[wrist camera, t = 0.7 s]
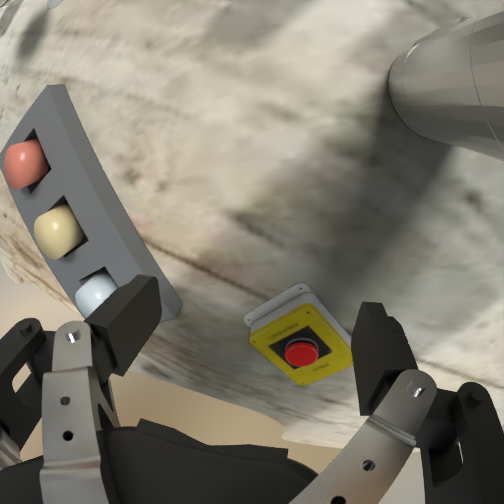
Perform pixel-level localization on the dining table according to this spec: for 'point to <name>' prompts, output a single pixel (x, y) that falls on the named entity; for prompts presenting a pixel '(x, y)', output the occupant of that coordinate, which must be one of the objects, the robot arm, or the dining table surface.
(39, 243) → the ochre button
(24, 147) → the red button
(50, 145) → the control panel
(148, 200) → the dining table surface
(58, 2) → the wineglass
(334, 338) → the emergency button
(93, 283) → the blue button
